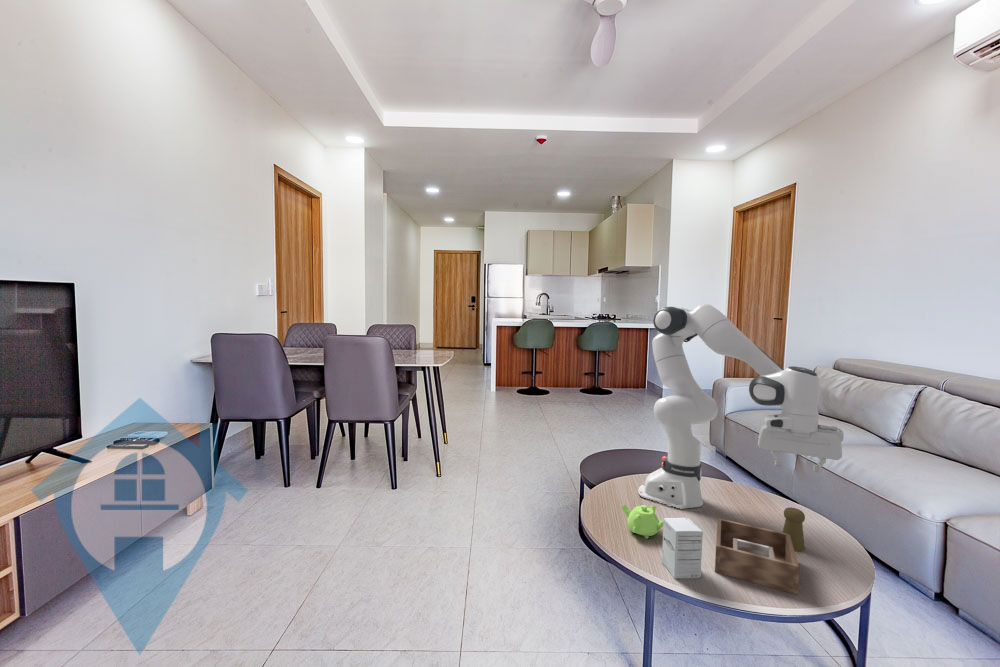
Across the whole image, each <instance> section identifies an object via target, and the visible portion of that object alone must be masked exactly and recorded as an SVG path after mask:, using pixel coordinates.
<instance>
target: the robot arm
mask: <svg viewBox="0 0 1000 667" xmlns="http://www.w3.org/2000/svg"><path fill="white" fill-rule="evenodd" d="M652 323H653V326H654V328H655V330H656V331H658V332H659V334H656V335H655V337H653V339H652V341H651V345H652V351H653V352H652V353H653V358H654V362H655V366H656V370H657V373H658V376H659V379H660V382H661V383H662V385H663V386H665V387H667V388H668V389H669V390H670V391H671V392H672V393H673V395H667V396H664V397H662V398H659V399H658V400H656V401H655V403H654V406H653V416H654V417H655V420H656V421H657V422H658V423H659V424H660V425H661V426H662V427H663V428H664V431H665V433H666V438H667V439H666V440H667V456H665V455H663V456H662V458H661V467H660V468H658V469H657V470H654V471H652V472H650V473H649V474H648V475H647V476H646V478H645V482H644V484H645V486H644V485H643V484H642V485H640V486H639V487H638V492H637V494H638V493H639V494H640V495H641V496H643V497H646V498H649V499H652V500H654V501H657V502H661V503H664V504H667V505H670V506H669V507H671V506H673V507H672V508H674V507H676V508H675V509H677V508H680V509H679V510H685V509H690V508H691V509H693V508H694V507H695V508H699V507H702V506H703V505H704V499H703V496H702V495H703V494H702V489H701V478H702V464H701V450H702V448H701V447H702V445H701V442H700V440H699V439H698V438H697V437H695V436H694V435H693V432H692V426H693V425H701V424H706V423H710V422H711V421H713V420H715V419H716V418H717V415H718V414H719V408H718V403H717V401H716V400H715V398H713V397H712V396H710V395H709V394H707V393H706V392H705V391H704V390H703V389H702V388H701V387H700V385H699V384H698V383H697V381H696V379H695V378H694V376H693V374H692V372H691V369H690V365H689V363H688V360H687V357H686V354H685V352H684V348H683V343H688V342H690V341H691V340H692V339H694V338H695V337H697V336H698V337H699V338H700V339H701V341H702V342H704V345H706V346H707V347H708V349H710V350H711V351H713V352H714V353H716V354H717V355H721V356H726V357H729V358H733V359H737V360H740V361H742V362H745V364H747V365H749V367H751V368H752V370H754V371H755V372H756V373H757V374H758V375H759V376H756V377H754V378H753V379H752V380H751V382H750V383H749V386H748V393H749V396H750V397H751V399H752V401H754V403H756V404H758V405H760V406H765V407H773V406H774V407H775V406H776V407H777V406H778V407H780V408H781V413H776V414H770V415H765V416H764V418H763V423H764V424H762V425H761V427H760V429H759V432H758V438H757V439H758V440H757V446H758V447H759V449H761V450H766V451H770V453H771V455H772V457H773V459H774V466H775V467H782V459H779V458H778V457H777V455H778V452H779V453H786V454H793V455H799V456H805V457H814V458H818V460H819V461H818V463H817V464H813V465H812V467H813V468H812V469H813V470H812V471H813V473H819V474H820V473H821V468H822V467H823V466H824V465H825V464H826V462H827V460H835V461H839V460H841V459H842V458H843V449H842V442H843V441H844V439H845V438H844V437H845V436H844V435H845V434H844V431H843V430H842V429H841V428H838V427H837V426H830V425H823V424H819V415H820V414H819V408H818V405H819V402H820V396H821V395H820V393H821V390H820V389H821V388H820V379H819V376H818V373H816V372H815V371H814V370H812V369H810V368H806V367H803V366H802V367H799V366H787V367H786V368H785V369H784V367H781V366H780V365H779V364H778V363H777V362H776V361H775V360H774V359H773V358H772V357H770V355H768V354H767V353H766V352H765V351H764V350H763V349H761V348H760V347H759V345H757V344H755V343H754V342H753V341H752V340H751V339H749V338H748V336H746V335H745V334H744V333H743V332H742V331H741V330H740V329H739V328H738V327H737V326H736V325H734V323H733V322H732V321H731V320H730V319H729V318H728V317H727V316H726V315H725V314H723V313H722V311H720V310H718V309H717V308H716V307H715V306H713V305H711V304H708V303H705V304H700V305H698V306H696V307H694V308H693V309H692V310H690V309H688V308H684V307H676V306H664V307H661V308H659V309H658V310H657V311H656V312H655V314H654V316H653V320H652ZM640 492H642V493H640ZM654 501H653V502H654ZM657 502H656V503H657ZM661 503H660V504H661ZM664 504H663V505H664ZM667 505H666V506H667Z"/></svg>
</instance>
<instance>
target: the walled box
mask: <svg viewBox="0 0 1000 667" xmlns="http://www.w3.org/2000/svg"><path fill="white" fill-rule="evenodd" d="M716 523H717V525H716V539H715V540H716V541H715V558H714V559H715V561H714V572H715V573H717V574H722V575H725V576H727V577H733V578H737V579H740V580H743V581H746V582H750V583H753V584H758V585H760V586H765V587H767V588H772V589H775V590H778V589H779V590H780V591H782V590H783V591H782V592H785V591H786V593H790V594H794V595H796V594H797V595H798V594H799V593H798V590H799V573H800V572H799V571H800V570H799V569H800V566H799V563H798V559H797V554H796V552H795V551H794V548H793V544H792V541H791V537H790V534H787V533H783V531H778V530H772V529H769V528H765V527H759V526H755V525H750V524H746V523H742V522H738V521H733V520H728V519H723V518H720V517H719V518H718V517H717V522H716ZM779 590H778V591H779Z"/></svg>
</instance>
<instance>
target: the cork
mask: <svg viewBox="0 0 1000 667" xmlns="http://www.w3.org/2000/svg"><path fill="white" fill-rule="evenodd" d="M805 516H806V514H805V513H804V511H802V510H801V509H799V508H795V507H792V506H791V507H786V508H785V509H783V517H784V518H785V520H784V524H783V529H782V533H787V534H790V537H791V541H792V544H793V548H794V551H796V552H803V551H805V549H806V548H805V538H804V537H805V536H804V527H803V523H804V522H805V520H806V517H805Z"/></svg>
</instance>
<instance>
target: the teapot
mask: <svg viewBox="0 0 1000 667" xmlns="http://www.w3.org/2000/svg"><path fill="white" fill-rule="evenodd" d="M620 507H621V509H622V510H623V512H624V514H625V516H626V517H627V520H626V522H627V523H626V524H627V526H628V527H629V530H631V531H632V532H633V533H636V535H639V536H642V537H643V536H644V537H645V538H649V539H650V537H653V536H654V535H656V534H657V533H659V531H660V530H661V529H662V528H663V524H664V518H663V519H662V520H660V521H659V518H658V516H657V514H656V508H657V507H656V506H655V505H652V504H651V505H650V507H648V506H647V505H645V504H641V505H637V506H634V508H633V509H632V510H631V511H630V509H629V508H628V506H627V505H626V504H623V505H622V506H620ZM633 533H632V534H633ZM644 537H643V538H644ZM645 538H644V539H645Z"/></svg>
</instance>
